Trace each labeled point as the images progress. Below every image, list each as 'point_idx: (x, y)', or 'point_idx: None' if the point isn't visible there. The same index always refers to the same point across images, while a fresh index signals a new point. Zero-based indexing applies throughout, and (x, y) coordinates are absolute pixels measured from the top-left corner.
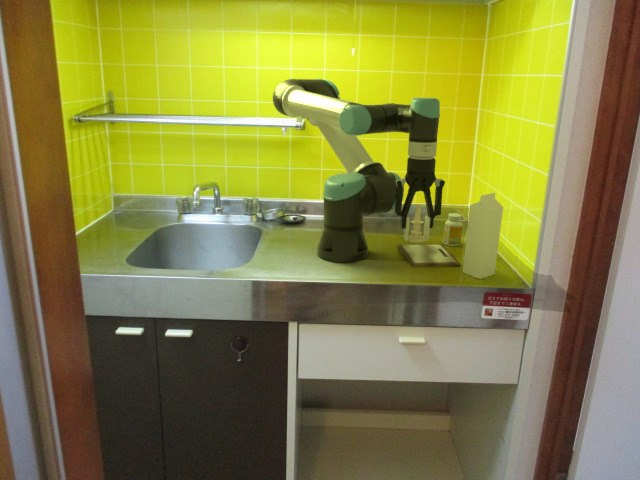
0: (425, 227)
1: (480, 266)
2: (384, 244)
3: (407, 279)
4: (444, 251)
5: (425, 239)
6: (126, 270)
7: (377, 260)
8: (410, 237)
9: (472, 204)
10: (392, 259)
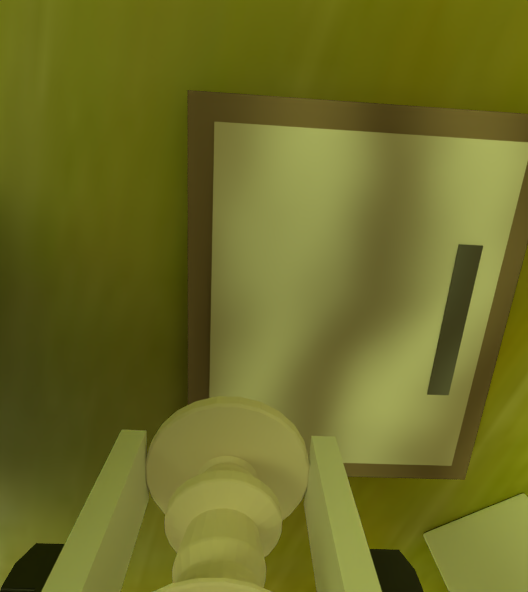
0: (324, 569)
1: None
2: (86, 2)
3: (133, 581)
4: (478, 300)
5: (305, 493)
6: None
7: (3, 354)
8: (180, 464)
9: None
10: (102, 345)
